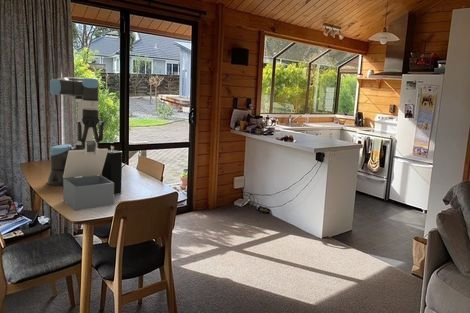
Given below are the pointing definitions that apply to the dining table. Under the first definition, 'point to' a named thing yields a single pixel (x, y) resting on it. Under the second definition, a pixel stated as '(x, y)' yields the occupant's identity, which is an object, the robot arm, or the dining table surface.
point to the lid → (85, 162)
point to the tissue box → (113, 169)
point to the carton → (88, 192)
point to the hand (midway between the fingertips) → (90, 154)
